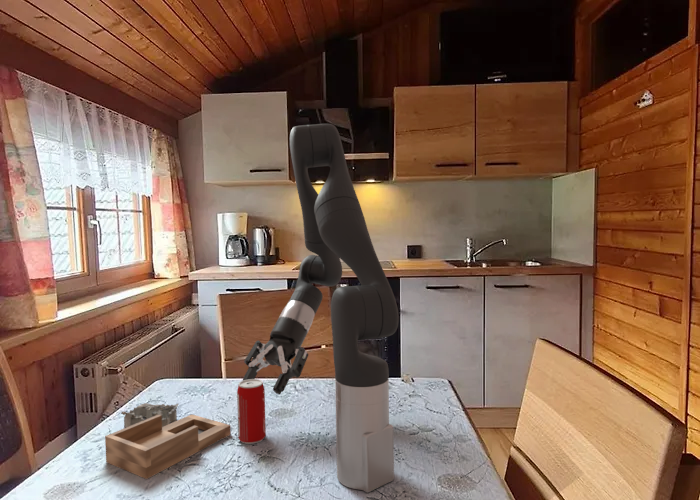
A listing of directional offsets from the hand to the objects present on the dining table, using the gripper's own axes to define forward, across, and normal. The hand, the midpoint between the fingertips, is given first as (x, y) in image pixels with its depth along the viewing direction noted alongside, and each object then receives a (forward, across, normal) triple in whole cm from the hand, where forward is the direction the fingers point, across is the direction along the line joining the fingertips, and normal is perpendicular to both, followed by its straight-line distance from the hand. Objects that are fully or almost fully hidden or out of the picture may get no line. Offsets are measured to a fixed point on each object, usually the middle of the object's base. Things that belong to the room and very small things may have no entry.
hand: (260, 388), depth 98 cm
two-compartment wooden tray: (+16, -11, -3) cm, 20 cm away
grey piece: (+13, -26, +1) cm, 29 cm away
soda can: (+9, 0, +5) cm, 10 cm away
